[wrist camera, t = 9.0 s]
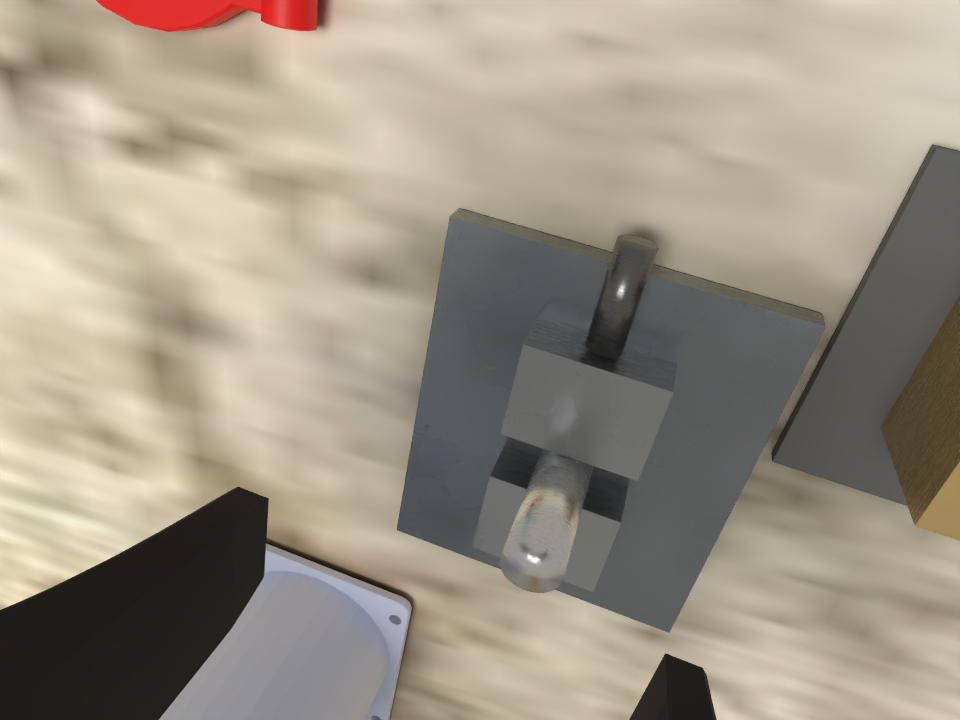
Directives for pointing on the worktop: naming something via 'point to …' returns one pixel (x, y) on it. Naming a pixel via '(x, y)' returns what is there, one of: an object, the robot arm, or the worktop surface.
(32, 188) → the worktop surface
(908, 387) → the tan slotted block
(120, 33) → the worktop surface
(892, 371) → the mat
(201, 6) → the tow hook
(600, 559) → the vise
